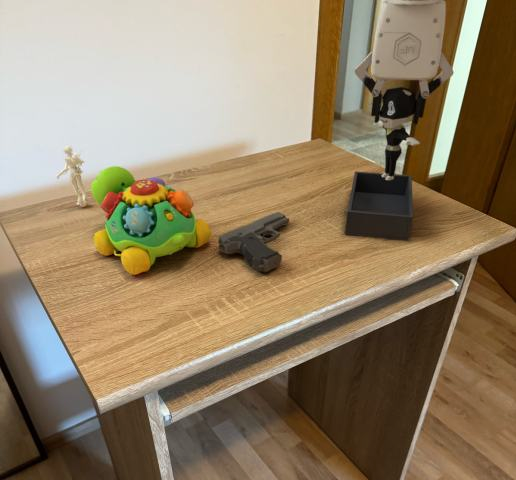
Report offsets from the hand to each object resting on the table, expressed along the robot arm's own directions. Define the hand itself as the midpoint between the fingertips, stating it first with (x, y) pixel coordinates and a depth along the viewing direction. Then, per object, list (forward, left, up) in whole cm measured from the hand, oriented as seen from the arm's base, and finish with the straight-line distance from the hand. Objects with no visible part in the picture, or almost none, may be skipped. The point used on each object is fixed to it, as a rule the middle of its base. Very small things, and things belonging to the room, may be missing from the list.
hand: (395, 120), depth 82 cm
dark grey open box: (0, 0, -17) cm, 17 cm away
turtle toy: (+40, +19, -18) cm, 48 cm away
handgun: (+18, +16, -18) cm, 30 cm away
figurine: (+59, +8, -18) cm, 62 cm away
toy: (0, 0, -10) cm, 10 cm away
